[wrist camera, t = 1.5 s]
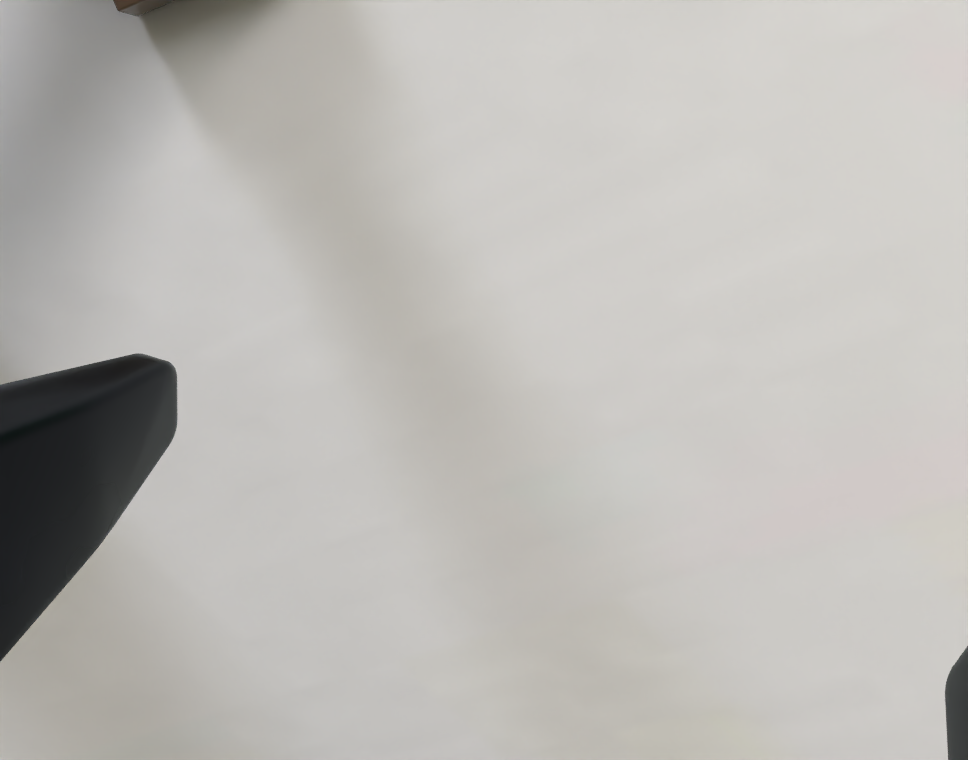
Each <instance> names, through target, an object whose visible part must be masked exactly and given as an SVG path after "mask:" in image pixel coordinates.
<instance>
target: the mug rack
mask: <svg viewBox="0 0 968 760" xmlns="http://www.w3.org/2000/svg"><path fill="white" fill-rule="evenodd" d="M113 1H114V3H115V5H116V8H117V10H118V11H120V12H123V13H127V14H131V15H135V16H139V15H142V14H144V13H146V12H149V11H151V10H153V9H156V8H158V7H160V6H163V5H165V4H167V3H170V2H172V1H174V0H113Z"/></svg>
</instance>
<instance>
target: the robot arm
mask: <svg viewBox="0 0 968 760" xmlns="http://www.w3.org/2000/svg"><path fill="white" fill-rule="evenodd" d="M176 427H177V374H176V370H175V367H174V366H173V365H172V364H171V363H170V362H168V361H164V360H161V359H158V358H155V357H152V356H148V355H145V354H132V355H128V356H124V357H119V358H115V359H110V360H106V361H102V362H97V363H93V364H89V365H84V366H80V367H76V368H71V369H67V370H63V371H58V372H54V373H50V374H45V375H41V376H37V377H32V378H28V379H23V380H19V381H15V382H10V383H6V384H2V385H0V661H1V660H2V659H3V658H4V657H5V655H6V654H7V653H8V652H9V651H10V650H11V648H12V647H13V646H14V645H15V644H16V643H17V642H18V640H19V639H20V638H21V637H22V636H23V635H24V633H25V632H26V631H27V630H28V629H29V628H30V626H31V625H32V624H33V623H34V622H35V621H36V619H37V618H38V617H39V616H40V615H41V614H42V612H43V611H44V610H45V609H46V608H47V607H48V605H49V604H50V603H51V602H52V601H53V600H54V598H55V597H56V596H57V595H58V594H59V593H60V592H61V590H62V589H63V588H64V587H65V586H66V585H67V583H68V582H69V581H70V580H71V579H72V578H73V576H74V575H75V574H76V573H77V572H78V571H79V569H80V568H81V567H82V566H83V565H84V564H85V562H86V561H87V560H88V559H89V558H90V556H91V555H92V554H93V553H94V552H95V550H96V549H97V548H98V547H99V545H100V544H101V543H102V542H103V540H104V539H105V537H106V536H107V535H108V533H109V532H110V531H111V529H112V528H113V526H114V525H115V524H116V522H117V521H118V519H119V518H120V516H121V515H122V513H123V512H124V510H125V509H126V507H127V506H128V505H129V503H130V502H131V500H132V499H133V497H134V496H135V494H136V493H137V491H138V490H139V488H140V487H141V486H142V484H143V483H144V481H145V480H146V478H147V477H148V475H149V474H150V472H151V471H152V469H153V468H154V467H155V465H156V464H157V462H158V461H159V459H160V458H161V456H162V455H163V453H164V452H165V450H166V449H167V448H168V446H169V444H170V443H171V441H172V439H173V437H174V434H175V431H176ZM945 702H946V722H947V743H948V760H968V646H967V648H966V649H965V651H964V652H963V653H962V655H961V656H960V658H959V659H958V660H957V662H956V663H955V665H954V666H953V667H952V669H951V671H950V673H949V675H948V678H947V682H946V688H945Z"/></svg>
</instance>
